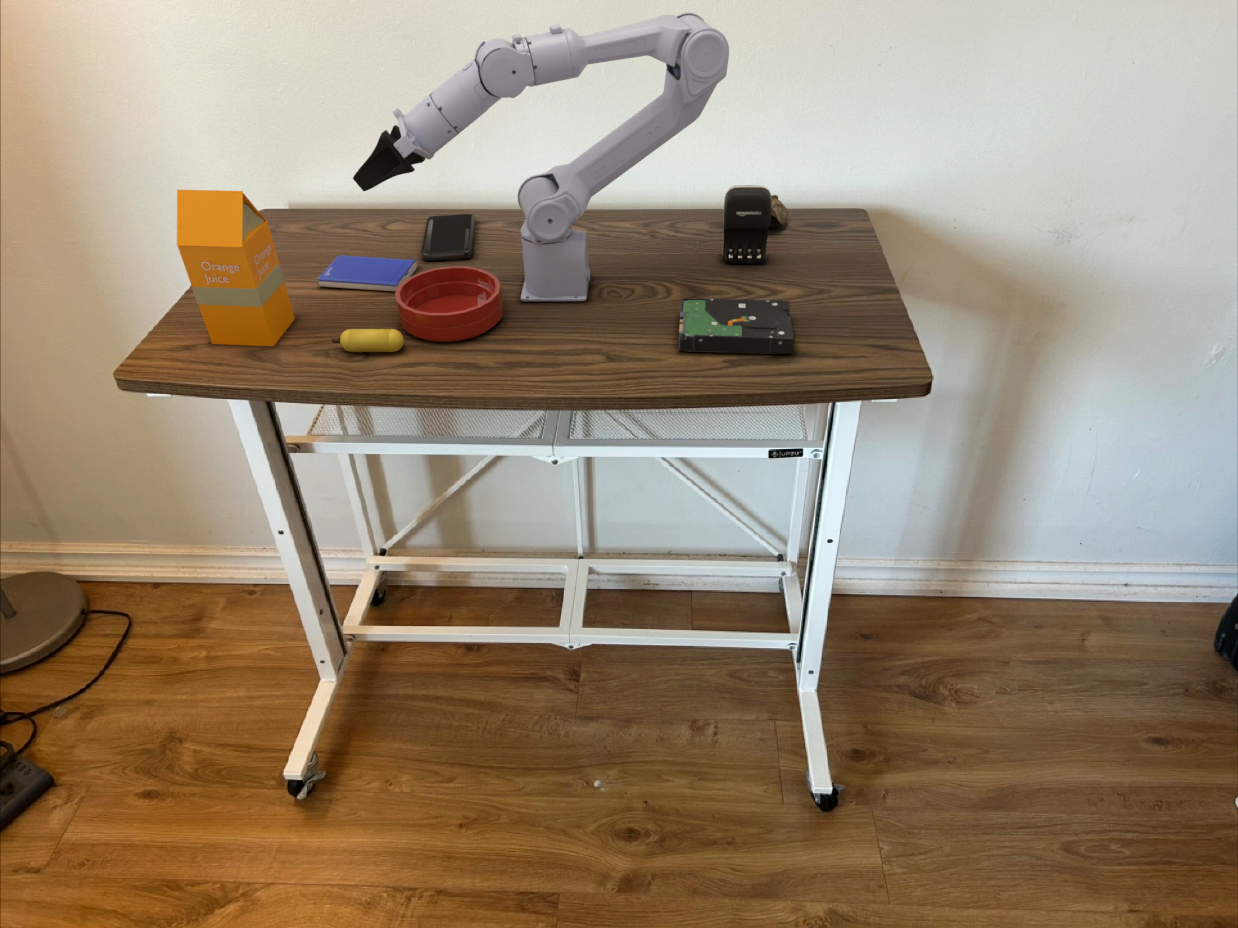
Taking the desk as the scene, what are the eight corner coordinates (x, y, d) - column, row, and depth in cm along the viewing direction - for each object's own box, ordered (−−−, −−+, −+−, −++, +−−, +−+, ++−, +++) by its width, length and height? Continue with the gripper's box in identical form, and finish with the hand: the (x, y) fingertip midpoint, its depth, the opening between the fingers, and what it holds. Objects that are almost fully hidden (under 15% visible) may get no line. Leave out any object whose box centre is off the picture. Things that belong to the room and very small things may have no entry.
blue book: (317, 278, 132) (396, 283, 130) (339, 253, 138) (415, 258, 136) (319, 287, 133) (398, 293, 131) (341, 263, 139) (417, 267, 137)
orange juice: (236, 316, 126) (191, 177, 114) (295, 318, 125) (257, 179, 113) (210, 344, 120) (160, 202, 108) (273, 347, 119) (229, 203, 107)
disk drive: (786, 317, 123) (679, 314, 124) (789, 299, 121) (680, 296, 122) (792, 357, 115) (678, 353, 116) (795, 338, 113) (678, 334, 114)
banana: (407, 344, 119) (403, 324, 117) (402, 356, 117) (398, 336, 115) (338, 344, 120) (333, 324, 118) (332, 356, 117) (327, 336, 115)
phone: (420, 255, 138) (428, 215, 149) (421, 261, 138) (429, 222, 150) (471, 252, 138) (475, 213, 150) (472, 258, 139) (475, 219, 151)
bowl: (509, 294, 130) (506, 265, 127) (495, 344, 119) (492, 314, 116) (413, 294, 130) (408, 266, 127) (390, 344, 119) (384, 315, 116)
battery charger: (721, 266, 135) (725, 194, 128) (720, 255, 138) (724, 184, 131) (767, 267, 135) (774, 194, 128) (765, 255, 138) (772, 184, 131)
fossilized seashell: (783, 199, 149) (724, 210, 150) (784, 174, 143) (722, 186, 144) (792, 237, 146) (731, 248, 147) (793, 213, 140) (730, 225, 141)
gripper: (430, 83, 117) (353, 147, 120) (416, 88, 104) (330, 161, 107) (465, 129, 120) (389, 191, 123) (455, 140, 107) (370, 209, 110)
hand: (364, 180), depth 115 cm, fingers open, 7 cm apart
